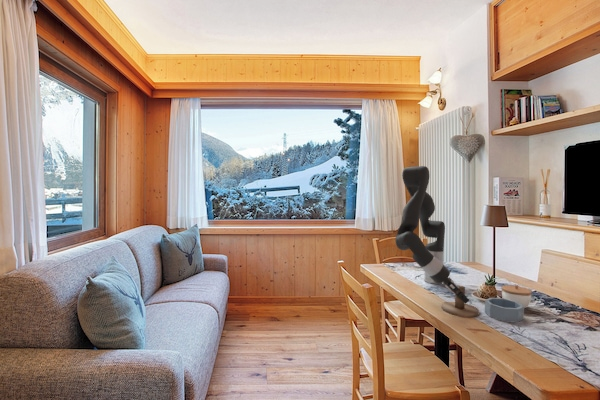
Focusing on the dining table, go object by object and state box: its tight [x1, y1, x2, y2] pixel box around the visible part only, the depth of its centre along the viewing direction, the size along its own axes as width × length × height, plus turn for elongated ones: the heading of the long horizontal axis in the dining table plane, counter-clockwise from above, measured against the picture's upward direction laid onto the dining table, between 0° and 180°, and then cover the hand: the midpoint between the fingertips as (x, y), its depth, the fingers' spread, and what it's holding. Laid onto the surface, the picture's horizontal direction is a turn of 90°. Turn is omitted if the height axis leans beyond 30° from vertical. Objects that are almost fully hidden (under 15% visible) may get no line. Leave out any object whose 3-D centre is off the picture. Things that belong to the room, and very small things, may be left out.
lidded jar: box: [501, 284, 533, 309], centre depth 135 cm, size 11×11×9 cm
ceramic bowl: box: [484, 297, 525, 323], centre depth 125 cm, size 12×12×5 cm
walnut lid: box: [440, 284, 480, 318], centre depth 130 cm, size 14×14×10 cm
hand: (463, 298), depth 130 cm, fingers open, 7 cm apart
